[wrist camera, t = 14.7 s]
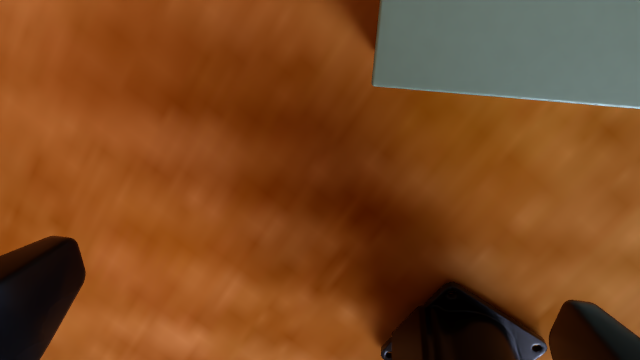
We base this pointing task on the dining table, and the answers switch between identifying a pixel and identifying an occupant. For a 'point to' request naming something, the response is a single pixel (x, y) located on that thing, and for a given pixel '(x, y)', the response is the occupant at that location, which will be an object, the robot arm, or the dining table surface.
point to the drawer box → (512, 49)
